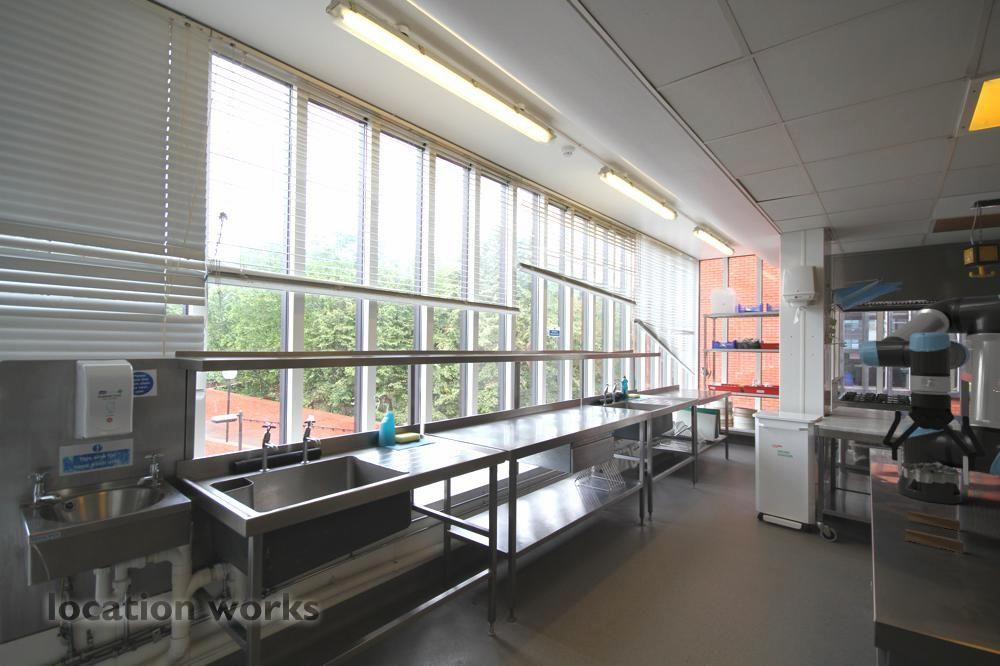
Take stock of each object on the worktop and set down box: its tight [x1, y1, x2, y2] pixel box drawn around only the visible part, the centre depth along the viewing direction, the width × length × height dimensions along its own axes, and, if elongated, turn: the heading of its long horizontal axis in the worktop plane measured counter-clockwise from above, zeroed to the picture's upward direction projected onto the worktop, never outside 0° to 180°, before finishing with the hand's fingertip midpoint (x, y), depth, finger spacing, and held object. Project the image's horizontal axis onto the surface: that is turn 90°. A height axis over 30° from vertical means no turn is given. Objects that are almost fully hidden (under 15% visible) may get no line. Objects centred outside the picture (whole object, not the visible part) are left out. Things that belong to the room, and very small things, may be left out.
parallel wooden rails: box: [904, 510, 964, 554], centre depth 115 cm, size 19×10×2 cm, turn 137°
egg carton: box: [901, 462, 963, 485], centre depth 116 cm, size 11×8×4 cm
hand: (931, 478), depth 115 cm, fingers closed on egg carton, 11 cm apart
